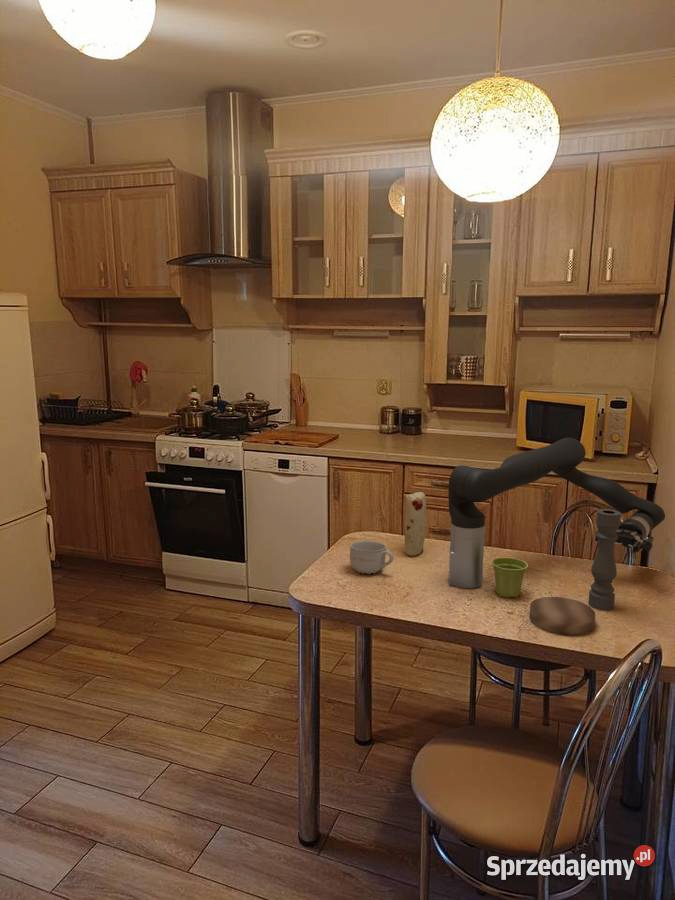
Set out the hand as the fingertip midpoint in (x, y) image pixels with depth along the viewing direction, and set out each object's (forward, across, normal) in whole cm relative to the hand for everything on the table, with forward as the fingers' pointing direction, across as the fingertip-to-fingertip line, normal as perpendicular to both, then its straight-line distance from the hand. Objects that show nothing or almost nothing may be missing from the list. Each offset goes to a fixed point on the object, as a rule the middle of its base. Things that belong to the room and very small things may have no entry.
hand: (617, 546), depth 168 cm
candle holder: (+11, 0, +13) cm, 17 cm away
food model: (+8, -58, +13) cm, 60 cm away
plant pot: (+19, -22, +13) cm, 32 cm away
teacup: (+30, -60, +13) cm, 68 cm away
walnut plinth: (+27, -5, +13) cm, 30 cm away
